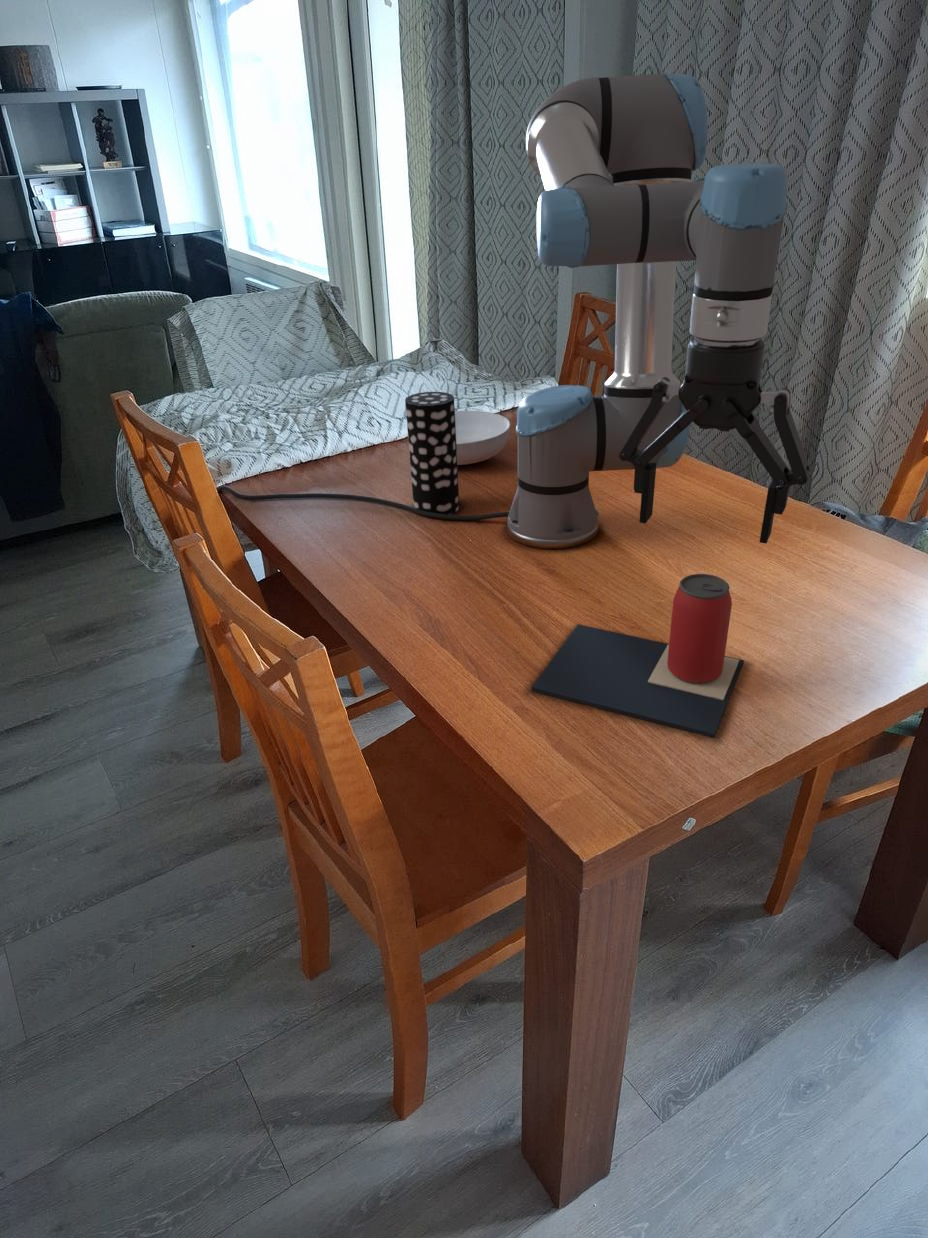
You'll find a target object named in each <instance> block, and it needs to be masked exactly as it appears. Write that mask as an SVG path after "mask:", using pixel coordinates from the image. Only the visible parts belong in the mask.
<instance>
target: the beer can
mask: <svg viewBox="0 0 928 1238" xmlns="http://www.w3.org/2000/svg"><path fill="white" fill-rule="evenodd" d="M678 585H679V586H678V587H677V590H676V592H675V594H674V597H673V600H672V610H671V620H670V630H669V639H668V644H669V650H668V660H667V665H668V669H669V670H670V672H671V673H672V674H673V675H674V676H675V677H677V678H678V679H681V680H683V681H686V682H690V683H706V682H711V681H713V680H715V679H717V678H718V677H719V676H720V675H721V674H722V670H723V664H724V657H725V656H726V650H727V642H728V635H729V627H730V621H731V614H732V607H733V599H732V596H731V593H730V584H729V583H728V582H727V581H726V580H724V579H723V578H721V577H720V576H717V575H713V574H708V573H693V574H689V575H686V576H684V577H683V578H682V579H681V580H680V582H679V584H678Z"/></svg>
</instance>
